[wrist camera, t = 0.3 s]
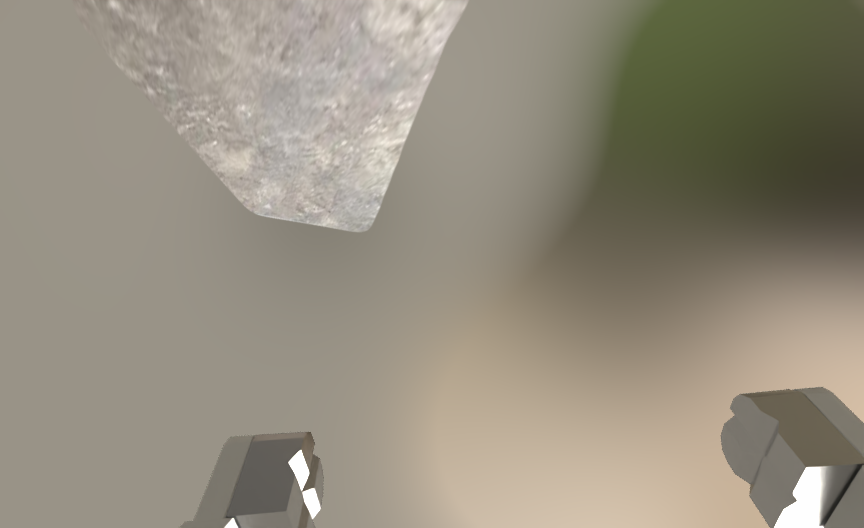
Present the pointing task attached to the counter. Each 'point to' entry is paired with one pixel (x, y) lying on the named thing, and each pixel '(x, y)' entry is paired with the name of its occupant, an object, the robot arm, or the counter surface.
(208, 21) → the counter surface
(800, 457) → the robot arm
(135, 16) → the counter surface
